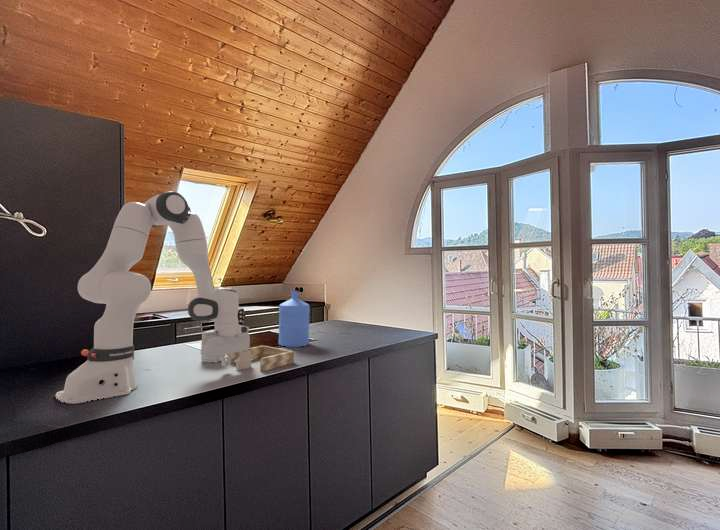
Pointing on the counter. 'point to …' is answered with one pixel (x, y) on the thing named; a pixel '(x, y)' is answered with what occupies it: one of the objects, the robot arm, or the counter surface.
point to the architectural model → (243, 360)
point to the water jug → (294, 322)
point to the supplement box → (212, 359)
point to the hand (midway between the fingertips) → (226, 365)
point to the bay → (268, 356)
